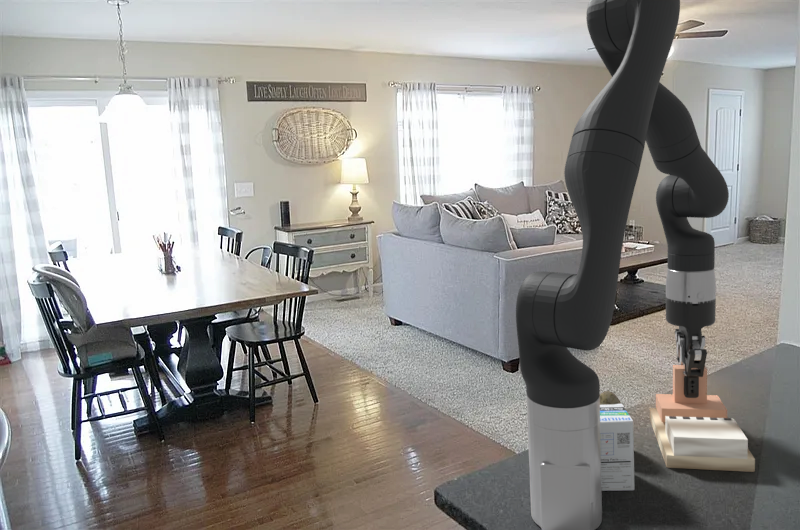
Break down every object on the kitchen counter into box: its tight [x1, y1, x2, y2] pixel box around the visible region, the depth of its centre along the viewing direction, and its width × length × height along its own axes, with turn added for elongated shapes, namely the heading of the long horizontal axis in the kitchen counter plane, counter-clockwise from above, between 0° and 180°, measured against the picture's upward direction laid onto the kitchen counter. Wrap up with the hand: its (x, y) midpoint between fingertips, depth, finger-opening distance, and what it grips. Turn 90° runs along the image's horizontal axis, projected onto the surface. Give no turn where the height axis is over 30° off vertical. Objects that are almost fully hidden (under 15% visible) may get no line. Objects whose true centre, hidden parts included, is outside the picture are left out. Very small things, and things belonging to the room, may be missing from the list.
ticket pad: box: [649, 407, 756, 473], centre depth 101 cm, size 18×12×5 cm, turn 166°
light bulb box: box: [600, 403, 635, 492], centre depth 91 cm, size 11×7×11 cm, turn 84°
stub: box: [655, 364, 728, 422], centre depth 105 cm, size 6×10×8 cm, turn 76°
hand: (689, 393), depth 106 cm, fingers closed on stub, 2 cm apart
